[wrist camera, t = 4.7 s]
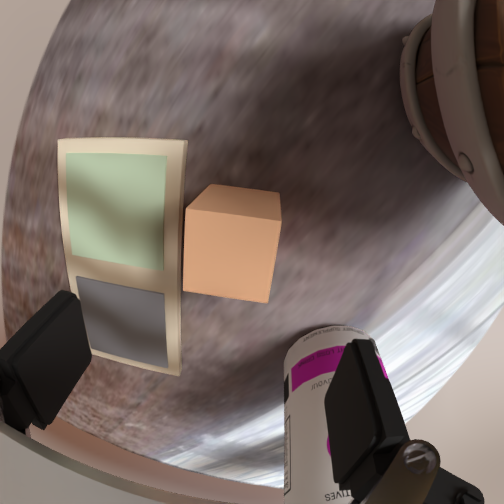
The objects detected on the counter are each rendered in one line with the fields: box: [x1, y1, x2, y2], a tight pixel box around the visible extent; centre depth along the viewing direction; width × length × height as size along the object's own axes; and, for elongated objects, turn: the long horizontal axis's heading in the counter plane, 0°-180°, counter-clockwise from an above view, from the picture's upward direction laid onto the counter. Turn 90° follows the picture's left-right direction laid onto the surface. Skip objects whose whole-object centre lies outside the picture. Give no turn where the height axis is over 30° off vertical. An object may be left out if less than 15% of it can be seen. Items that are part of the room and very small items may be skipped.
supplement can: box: [284, 326, 389, 504], centre depth 18 cm, size 8×8×15 cm
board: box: [58, 137, 188, 376], centre depth 22 cm, size 20×10×1 cm, turn 173°
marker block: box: [183, 184, 282, 303], centre depth 18 cm, size 4×4×6 cm
